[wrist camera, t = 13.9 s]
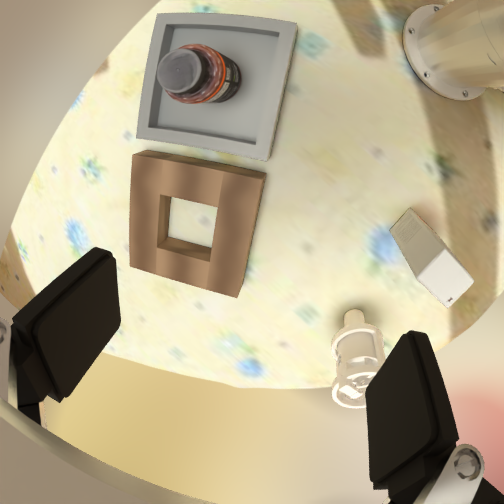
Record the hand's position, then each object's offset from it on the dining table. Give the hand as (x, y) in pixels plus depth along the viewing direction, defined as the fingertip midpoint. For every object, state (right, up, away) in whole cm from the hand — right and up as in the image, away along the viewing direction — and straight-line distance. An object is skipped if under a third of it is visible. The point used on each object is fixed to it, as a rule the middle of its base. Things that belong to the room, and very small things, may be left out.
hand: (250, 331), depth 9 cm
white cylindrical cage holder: (+15, -7, +33) cm, 37 cm away
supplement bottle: (-4, +22, +21) cm, 31 cm away
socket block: (-8, +7, +30) cm, 32 cm away
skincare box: (+21, +5, +26) cm, 33 cm away
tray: (-4, +22, +22) cm, 31 cm away
